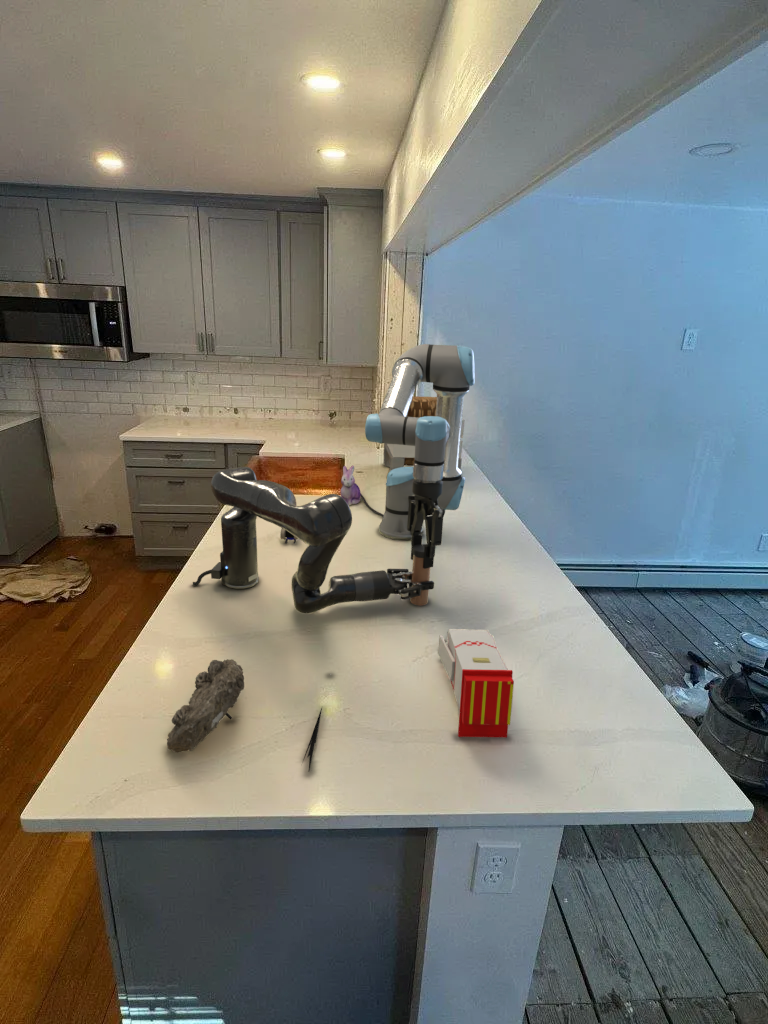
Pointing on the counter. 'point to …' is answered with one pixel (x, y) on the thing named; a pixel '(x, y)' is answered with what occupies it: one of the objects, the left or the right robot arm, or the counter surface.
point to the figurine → (350, 487)
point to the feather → (313, 740)
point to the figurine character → (287, 536)
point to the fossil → (206, 705)
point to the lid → (418, 550)
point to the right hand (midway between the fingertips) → (421, 562)
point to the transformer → (406, 454)
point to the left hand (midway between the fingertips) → (429, 580)
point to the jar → (420, 580)
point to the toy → (478, 682)
